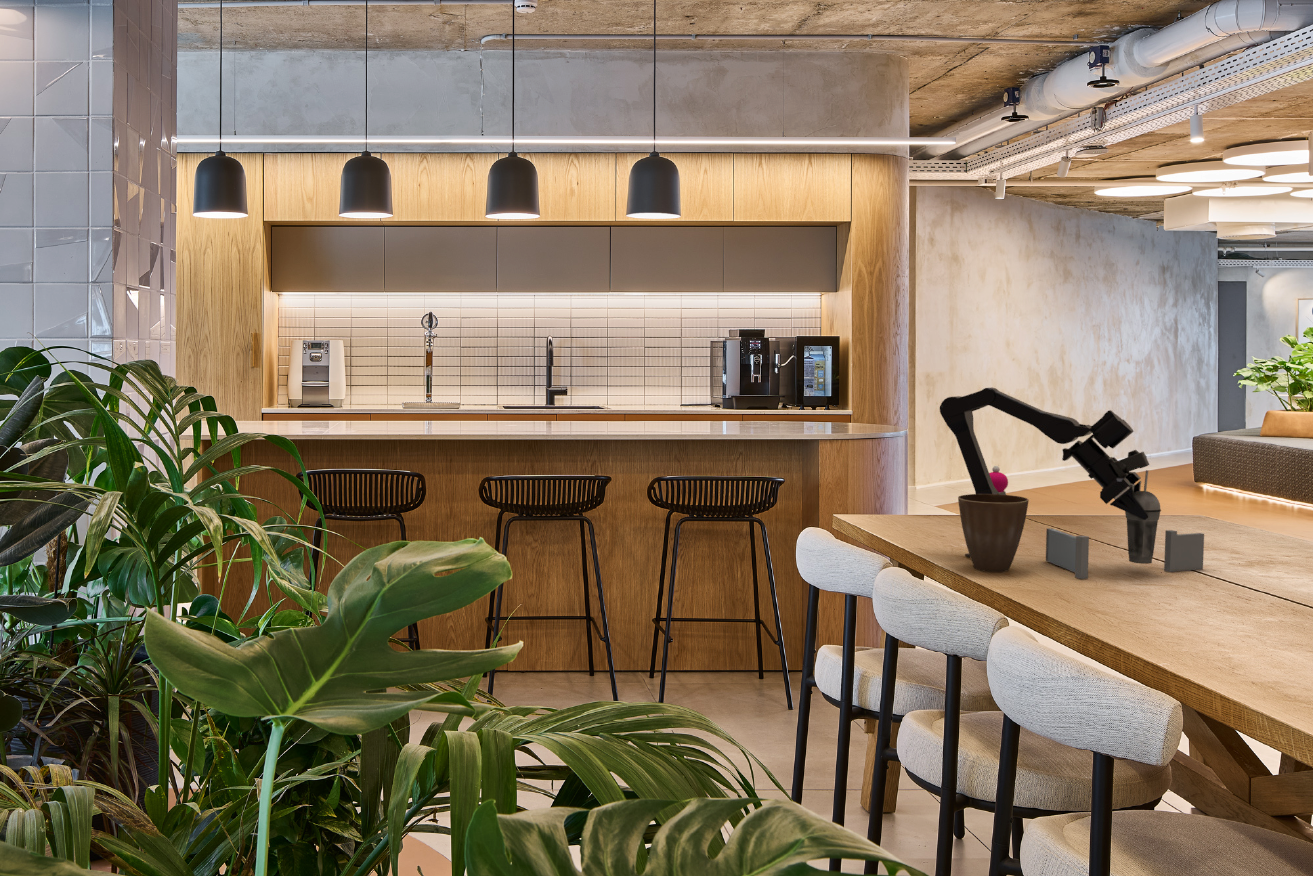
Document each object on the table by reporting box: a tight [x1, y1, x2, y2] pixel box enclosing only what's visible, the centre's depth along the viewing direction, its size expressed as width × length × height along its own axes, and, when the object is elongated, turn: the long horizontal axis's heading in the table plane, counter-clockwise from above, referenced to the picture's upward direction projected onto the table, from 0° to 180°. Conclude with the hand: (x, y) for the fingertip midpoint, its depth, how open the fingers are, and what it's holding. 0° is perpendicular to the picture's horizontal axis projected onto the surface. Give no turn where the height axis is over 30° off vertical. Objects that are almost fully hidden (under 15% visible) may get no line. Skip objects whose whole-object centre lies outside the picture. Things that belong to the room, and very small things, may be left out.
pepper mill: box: [989, 465, 1009, 494], centre depth 259 cm, size 7×7×20 cm
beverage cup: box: [1124, 470, 1162, 565], centre depth 221 cm, size 7×7×20 cm
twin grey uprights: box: [1074, 529, 1205, 580], centre depth 221 cm, size 34×2×9 cm, turn 109°
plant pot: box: [957, 493, 1029, 573], centre depth 226 cm, size 15×15×16 cm
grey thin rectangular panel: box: [1045, 527, 1077, 573], centre depth 226 cm, size 17×1×8 cm, turn 4°
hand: (1149, 516), depth 220 cm, fingers closed on beverage cup, 7 cm apart
